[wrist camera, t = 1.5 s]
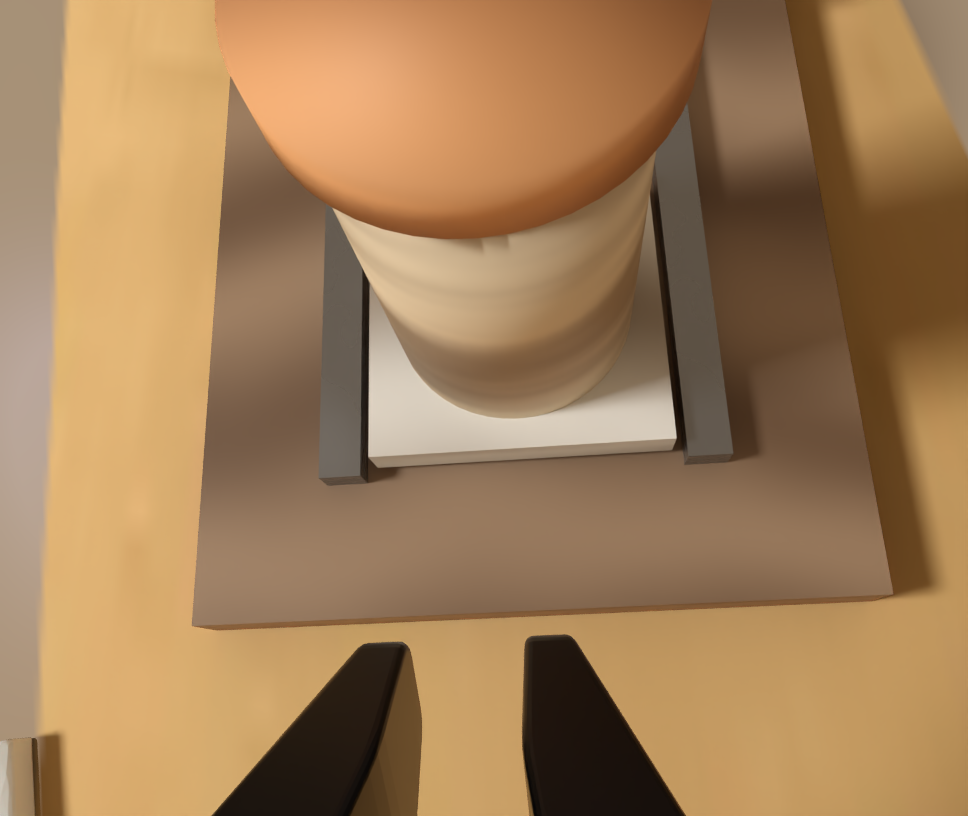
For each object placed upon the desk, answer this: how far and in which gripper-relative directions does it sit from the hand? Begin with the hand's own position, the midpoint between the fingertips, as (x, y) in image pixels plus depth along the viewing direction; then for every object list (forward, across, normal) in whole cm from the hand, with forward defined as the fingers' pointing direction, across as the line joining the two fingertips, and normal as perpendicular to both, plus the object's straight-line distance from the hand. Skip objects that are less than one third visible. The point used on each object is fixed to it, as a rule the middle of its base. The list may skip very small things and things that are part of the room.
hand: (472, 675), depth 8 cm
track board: (+18, 0, +1) cm, 19 cm away
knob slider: (+14, 0, +2) cm, 15 cm away
